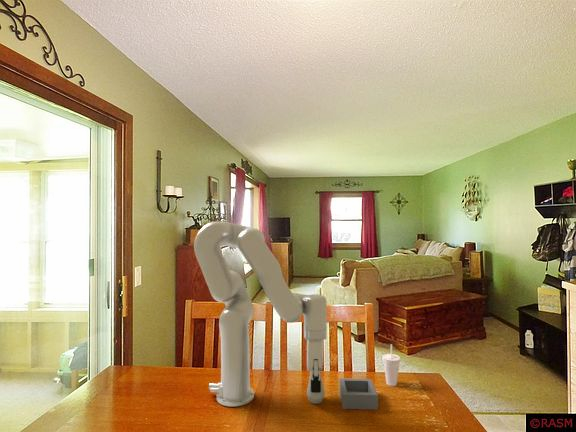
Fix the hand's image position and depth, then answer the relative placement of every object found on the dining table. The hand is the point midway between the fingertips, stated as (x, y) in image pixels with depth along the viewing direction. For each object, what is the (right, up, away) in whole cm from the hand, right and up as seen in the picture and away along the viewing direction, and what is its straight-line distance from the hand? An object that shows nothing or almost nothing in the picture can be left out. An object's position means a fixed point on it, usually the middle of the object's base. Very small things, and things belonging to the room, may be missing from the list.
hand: (315, 387), depth 115 cm
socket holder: (+14, -4, 0) cm, 15 cm away
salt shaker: (0, -5, 0) cm, 5 cm away
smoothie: (+29, -5, +12) cm, 31 cm away
